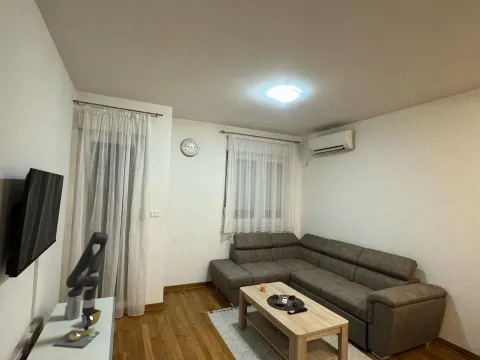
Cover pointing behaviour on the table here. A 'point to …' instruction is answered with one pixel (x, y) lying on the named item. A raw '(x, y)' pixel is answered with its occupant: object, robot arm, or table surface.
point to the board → (78, 344)
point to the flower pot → (95, 316)
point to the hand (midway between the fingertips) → (86, 330)
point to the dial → (80, 334)
